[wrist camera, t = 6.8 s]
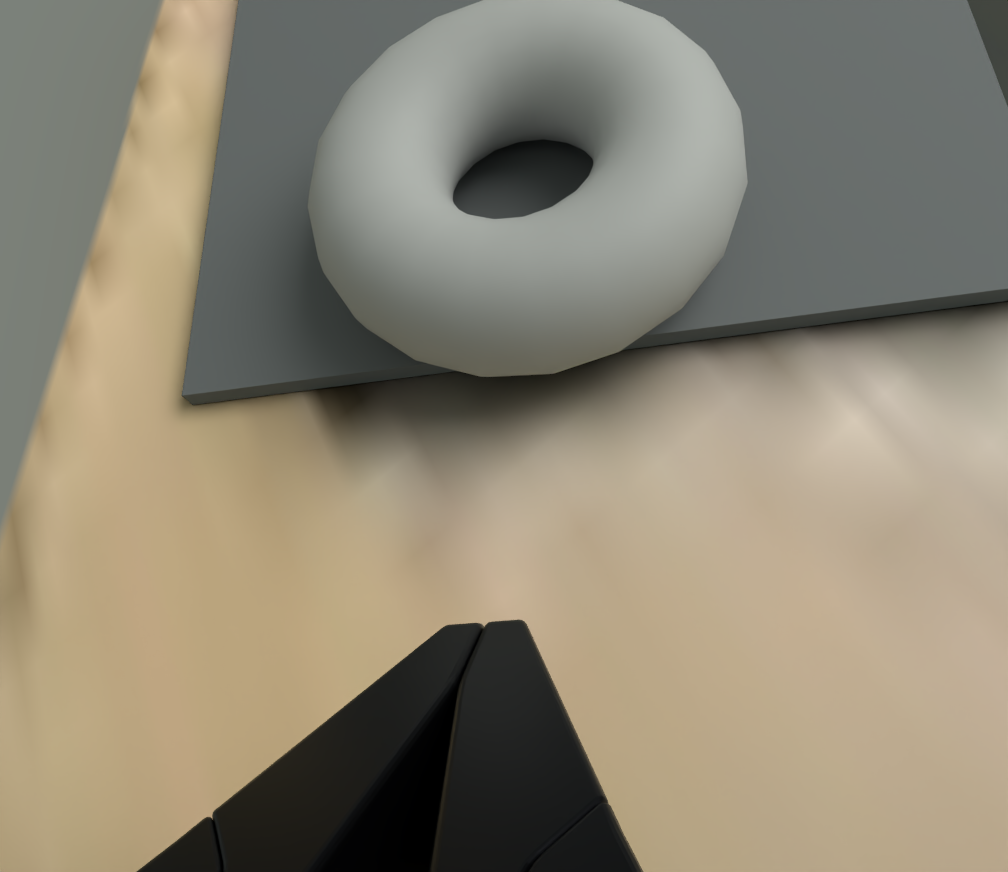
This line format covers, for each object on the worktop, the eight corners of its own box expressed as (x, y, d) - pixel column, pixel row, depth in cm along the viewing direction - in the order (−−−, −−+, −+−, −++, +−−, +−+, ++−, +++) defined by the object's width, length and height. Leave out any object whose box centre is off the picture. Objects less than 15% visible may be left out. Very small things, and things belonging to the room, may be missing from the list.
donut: (277, 365, 16) (285, 17, 21) (343, 441, 20) (337, 123, 24) (812, 259, 15) (697, -88, 20) (792, 358, 18) (697, 38, 23)
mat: (1064, 293, 18) (1074, 280, 18) (192, 404, 21) (181, 395, 21) (864, -243, 27) (867, -261, 26) (262, -106, 30) (255, -120, 30)
